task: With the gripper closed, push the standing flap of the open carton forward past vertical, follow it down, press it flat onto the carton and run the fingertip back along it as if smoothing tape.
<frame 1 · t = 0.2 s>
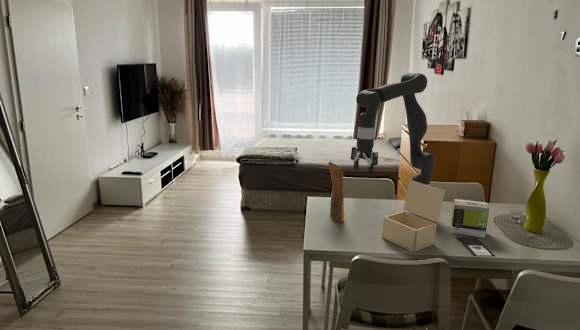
hand: (363, 171, 193), 29 cm above the table, fingers open, 8 cm apart
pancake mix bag: (335, 217, 218), on the table
carton flap: (423, 200, 193), point 18 cm above the table, hinge at 100.0°
carton: (407, 241, 192), on the table
chocolate bar: (474, 247, 189), on the table
tea box: (467, 232, 204), on the table
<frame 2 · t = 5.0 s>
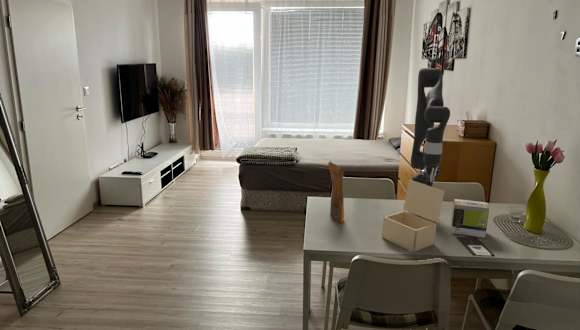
hand: (428, 188, 193), 23 cm above the table, fingers closed
carton flap: (423, 200, 192), point 18 cm above the table, hinge at 98.4°, touching gripper
everything else where it was.
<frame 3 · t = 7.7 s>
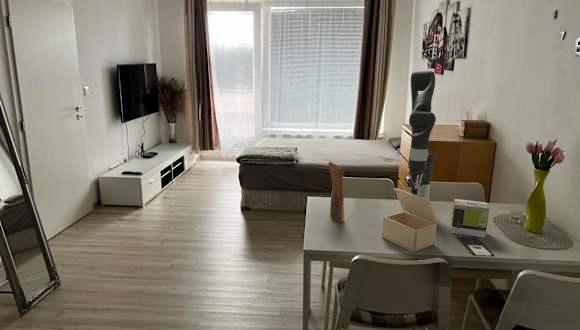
hand: (413, 196, 187), 21 cm above the table, fingers closed
carton flap: (415, 205, 190), point 17 cm above the table, hinge at 55.9°, touching gripper
everything else where it was.
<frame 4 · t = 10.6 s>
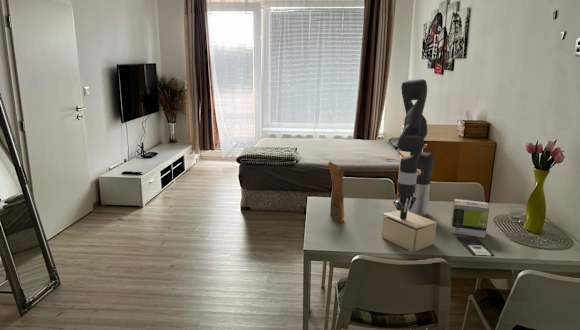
hand: (403, 219, 187), 12 cm above the table, fingers closed
carton flap: (409, 218, 189), point 11 cm above the table, hinge at 3.4°, touching gripper
everything else where it was.
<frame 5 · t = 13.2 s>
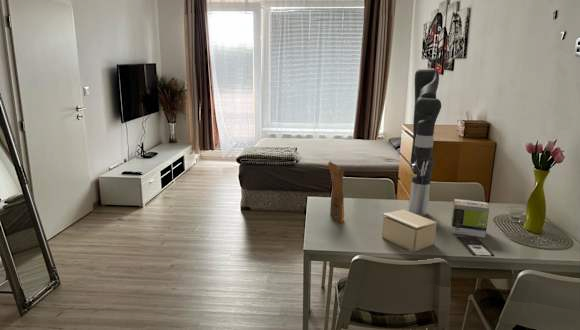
hand: (419, 183, 188), 27 cm above the table, fingers closed
carton flap: (409, 218, 189), point 11 cm above the table, hinge at 3.1°
everything else where it was.
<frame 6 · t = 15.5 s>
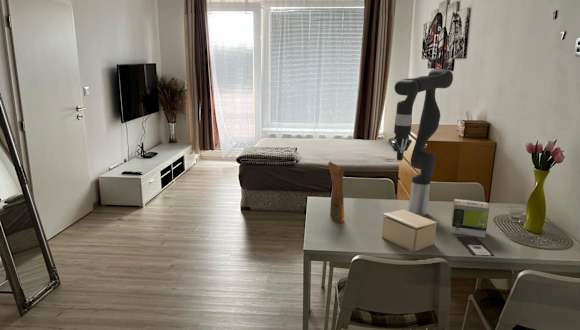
hand: (399, 160, 201), 33 cm above the table, fingers closed
nothing on the table moved.
at the end: carton flap at +3° (first picture: +100°); carton flap touching nothing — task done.
